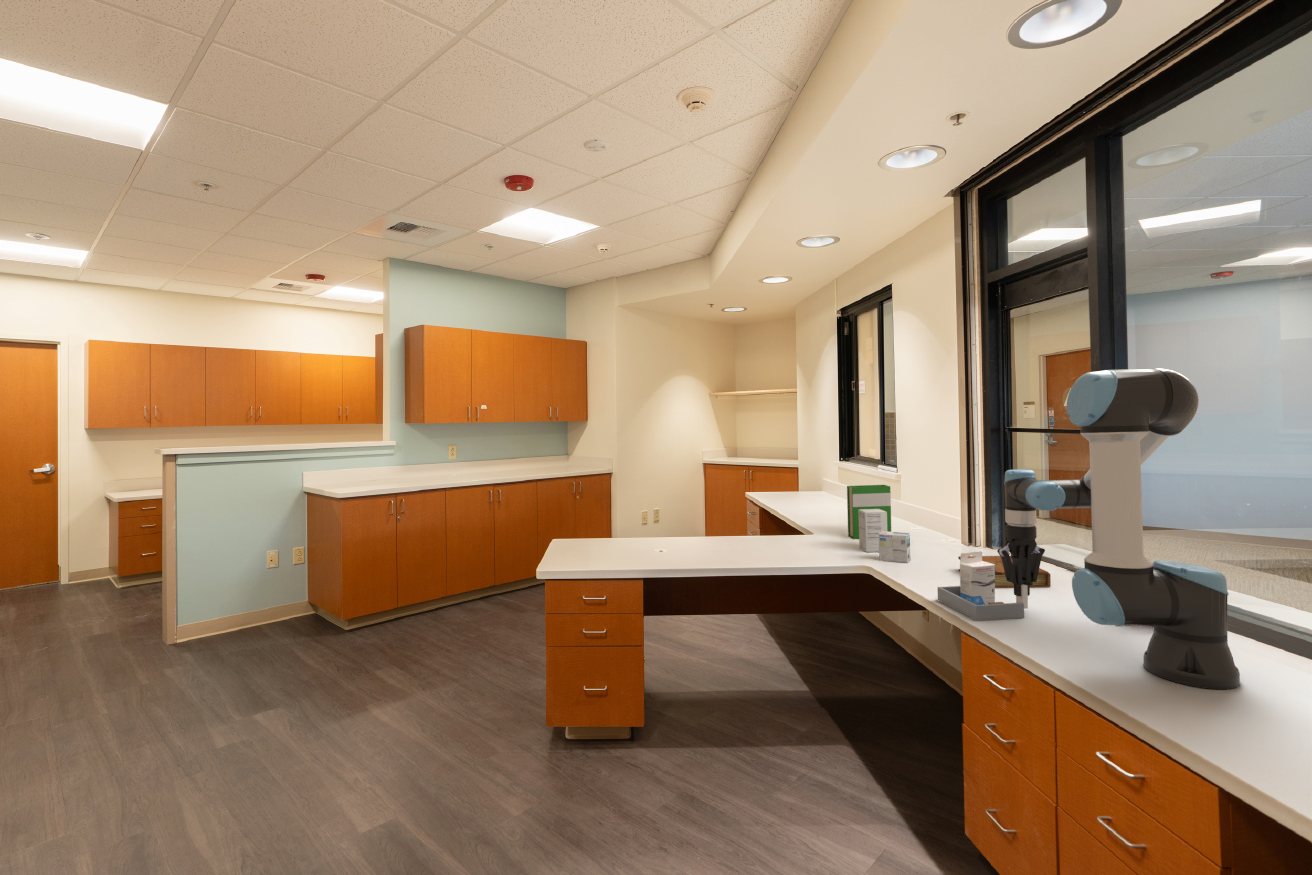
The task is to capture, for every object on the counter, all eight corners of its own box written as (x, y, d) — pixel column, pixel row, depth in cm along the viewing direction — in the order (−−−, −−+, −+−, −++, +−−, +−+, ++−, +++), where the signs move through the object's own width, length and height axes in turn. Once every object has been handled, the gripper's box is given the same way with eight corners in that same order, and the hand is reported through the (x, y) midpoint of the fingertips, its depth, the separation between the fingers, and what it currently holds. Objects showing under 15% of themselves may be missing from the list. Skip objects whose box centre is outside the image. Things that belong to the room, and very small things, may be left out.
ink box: (973, 606, 173) (972, 556, 173) (959, 601, 178) (958, 553, 178) (996, 603, 176) (995, 553, 175) (982, 598, 181) (981, 550, 180)
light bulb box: (911, 559, 232) (910, 532, 232) (908, 563, 226) (907, 535, 226) (882, 557, 238) (881, 530, 238) (878, 560, 232) (878, 533, 232)
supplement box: (888, 552, 246) (887, 511, 246) (866, 552, 246) (865, 512, 246) (880, 547, 256) (879, 508, 255) (858, 547, 256) (857, 508, 256)
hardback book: (853, 539, 274) (852, 487, 273) (848, 536, 281) (846, 485, 281) (891, 538, 274) (890, 486, 274) (885, 535, 282) (883, 484, 281)
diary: (1050, 589, 190) (1050, 571, 190) (990, 590, 191) (990, 572, 191) (1012, 570, 213) (1012, 554, 213) (958, 571, 214) (958, 555, 214)
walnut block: (1010, 614, 166) (1010, 605, 166) (997, 615, 166) (997, 606, 166) (1001, 610, 170) (1001, 601, 170) (988, 611, 170) (988, 602, 170)
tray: (1024, 617, 163) (1023, 603, 162) (976, 620, 161) (975, 606, 161) (981, 597, 181) (980, 584, 181) (937, 599, 180) (937, 586, 180)
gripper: (1032, 521, 172) (1033, 601, 172) (990, 523, 171) (991, 604, 171) (1052, 525, 164) (1053, 609, 165) (1008, 527, 163) (1009, 612, 164)
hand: (1022, 606), depth 168 cm, fingers closed
